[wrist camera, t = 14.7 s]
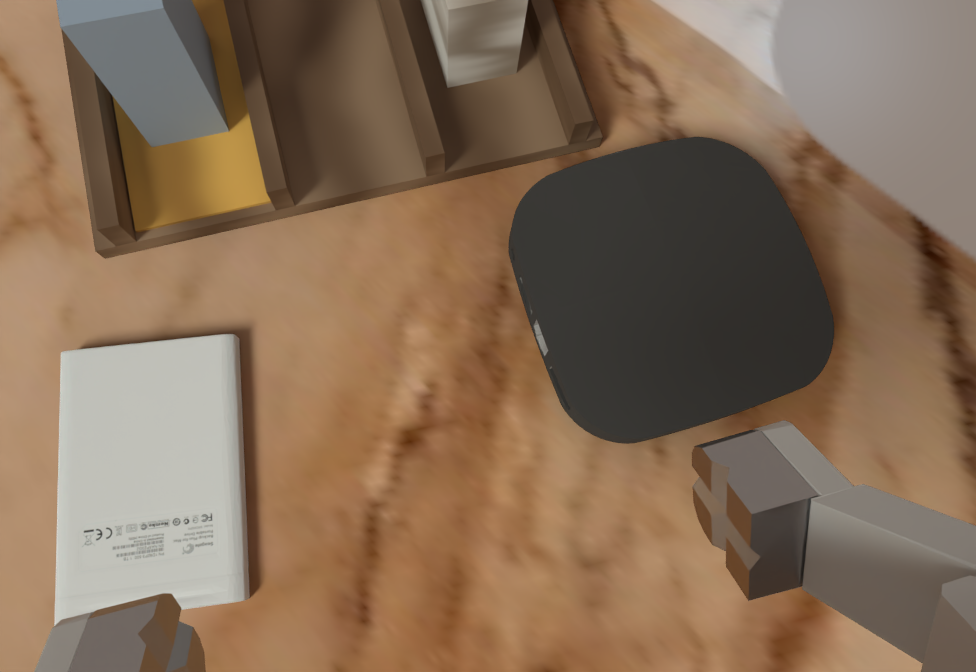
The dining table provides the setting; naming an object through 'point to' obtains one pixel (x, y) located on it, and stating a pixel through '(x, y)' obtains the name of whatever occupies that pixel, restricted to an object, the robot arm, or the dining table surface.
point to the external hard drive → (151, 475)
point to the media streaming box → (668, 288)
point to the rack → (335, 113)
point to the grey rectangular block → (151, 63)
